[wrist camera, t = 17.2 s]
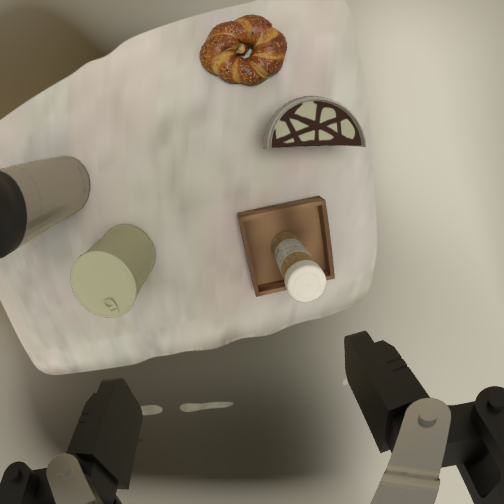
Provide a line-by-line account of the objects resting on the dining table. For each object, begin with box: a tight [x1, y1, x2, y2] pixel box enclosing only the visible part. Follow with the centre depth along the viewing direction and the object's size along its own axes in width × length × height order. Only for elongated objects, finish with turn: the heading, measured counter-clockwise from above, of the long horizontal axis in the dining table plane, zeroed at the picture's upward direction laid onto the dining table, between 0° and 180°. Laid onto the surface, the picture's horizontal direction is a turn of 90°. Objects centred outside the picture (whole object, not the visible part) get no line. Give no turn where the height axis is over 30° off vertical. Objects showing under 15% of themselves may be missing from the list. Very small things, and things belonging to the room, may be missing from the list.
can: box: [70, 225, 155, 318], centre depth 40 cm, size 9×9×12 cm
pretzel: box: [200, 15, 287, 85], centre depth 36 cm, size 12×11×4 cm
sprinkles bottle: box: [271, 232, 326, 302], centre depth 40 cm, size 5×5×13 cm
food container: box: [263, 96, 366, 149], centre depth 37 cm, size 12×6×10 cm, turn 94°
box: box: [238, 196, 335, 297], centre depth 46 cm, size 12×12×3 cm
